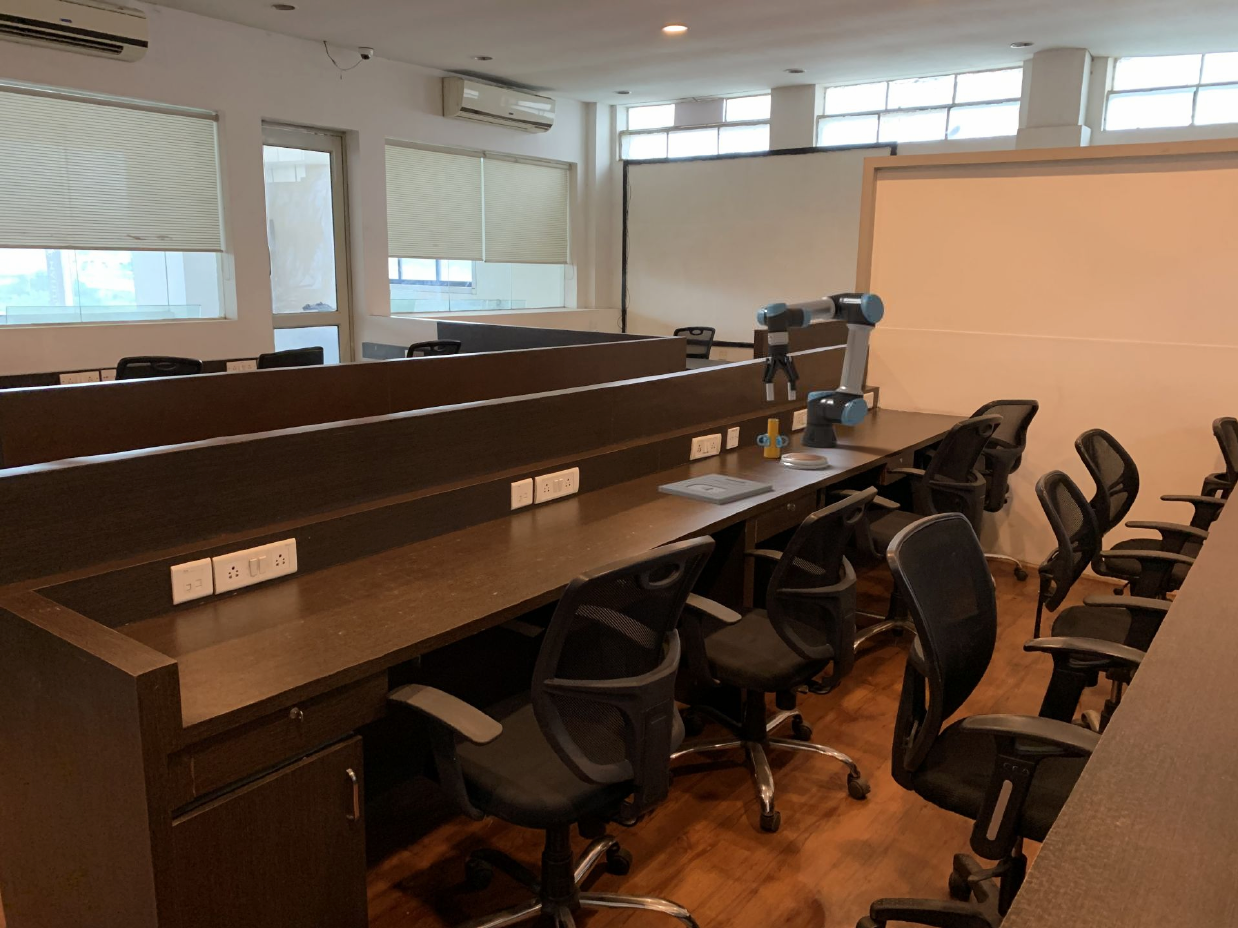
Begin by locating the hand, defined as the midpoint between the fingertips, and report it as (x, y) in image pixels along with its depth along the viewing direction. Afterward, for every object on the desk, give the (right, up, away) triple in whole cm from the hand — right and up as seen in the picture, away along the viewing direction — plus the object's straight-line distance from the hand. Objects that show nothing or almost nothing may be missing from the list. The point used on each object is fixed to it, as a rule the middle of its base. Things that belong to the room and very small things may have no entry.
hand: (781, 400), depth 353 cm
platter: (+8, -23, -2) cm, 25 cm away
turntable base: (+8, -25, -2) cm, 26 cm away
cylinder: (-1, -22, +14) cm, 26 cm away
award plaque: (-30, -34, -46) cm, 64 cm away
